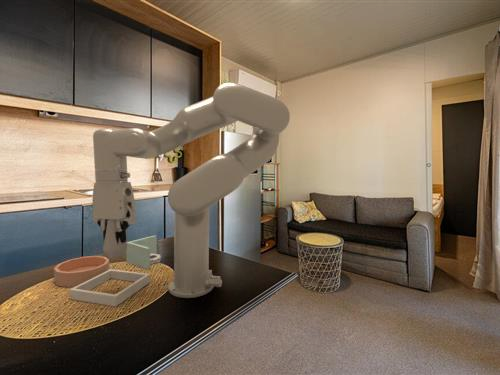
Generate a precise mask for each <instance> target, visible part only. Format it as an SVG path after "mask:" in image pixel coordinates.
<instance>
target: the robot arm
mask: <svg viewBox="0 0 500 375" xmlns="http://www.w3.org/2000/svg"><path fill="white" fill-rule="evenodd" d="M290 119H291V116H290V110H289V108H288V106H287V104H285V103H284V101H281V100H280V99H279V98H276V97H274V96H271V95H268V94H266V93H263V92H261V91H258V90H256V89H254V88H251V87H248V86H245V85H243V84H240V83H237V82H224V83H222V84H220V85H218V86H217V87H216V89H215V91H214V93H213V95H212V96H210V97H208V98H206V99H203V100H200V101H198V102H196V103H193V104H191V105H188V106H186V107H183V108H182V109H180V110H179V111H178V113H177V114H176V116H175V117H174V118H173V119H172V120H171V121H169V122H168V123H166V124H164V125H163V126H160V127H158V128H156V129H153V130H151V131H146V130H145V129H143V128H138V127H133V128H132V127H130V128H124V129H107V128H101V129H97V130H94V132H93V134H92V141H93V145H92V146H93V159H94V160H93V163H94V178H95V180H94V181H95V182H94V183H93V188H92V218H91V221H92V222H94V223H96V224H97V225H98V226H99V228H100V230H101V232H102V235H103V241H104V240H105V234H106V228H107V222H108V220H116V227H117V231H118V232H115V235H116V241H117V244H118V242H119V238H120V241H121V242H122V243H124V242H127V230H128V229H129V227H130V226H131V225H132V224H133V223H135V222H137V217H136V203H135V193H134V189H133V187H132V184H131V182H130V181H128V179H129V178H130V177H131V173H130V172H128V165H127V164H128V163H127V162H128V161H127V160H128V159H127V157H129V158H137V159H143V160H144V159H145V160H149V159H153V158H157V157H159V156H162V155H164V154H167V153H170V152H171V151H174V150H176V149H179V148H180V147H183V146H184V145H186V144H189V143H191V142H192V141H194V140H196V139H198V138H201V137H204V136H205V135H208V134H211V133H213V132H215V131H217V130H220V129H223V128H226V127H227V126H230V125H233V124H235V123H237V122H238V121H239V123H240V122H241V123H243V124H245V125H248V126H251V127H252V134H251V136H250V137H249V138H248V139H246V140H245V141H243V142H242V143H240V144H239V145H237V146H236V147H234V148H233V149H231V150H230V151H228V152H226V153H221V154H218V155H215V156H214V157H211V158H210V159H209V160H207V161H205V162H204V163H202V164H200V165H199V166H197V167H196V168H194V169H193V170H191V171H190V172H188V173H186V174H185V175H183V176H182V177H180V178H179V179H178V178H177V180H176V181H174V182H173V183H172V184H171V186H170V187H169V190H168V192H167V202H168V205H169V208H170V209H171V210H172V211H173V212H174V222H173V223H174V230H173V234H174V235H173V247H174V248H173V272H174V273H173V280H171V281H170V282H169V283H168V285H167V287H168V288H167V289H168V292H169V294H171V295H172V296H174V297H176V298H181V299H182V298H183V299H191V298H192V299H193V298H198V297H201V296H204V295H207V294H208V293H209V294H210V292H211V291H213V289H214V287H216V288H221V287H222V284H223V279H222V278H221V276H219V275H213V270H212V269H209V264H210V263H209V262H210V260H209V259H210V258H209V256H210V254H209V253H210V252H209V251H210V250H209V249H210V248H209V247H210V243H209V242H210V212H211V211H210V210H211V209H210V208H211V206H213V205H215V204H216V203H218V202H220V201H222V199H224V198H225V197H226V196H229V195H230V194H232V193H233V192H234V191H235V190H237V189H238V188H239V187H240V186H241V185H242V184H243V181H244V179H245V178H247V177H248V176H250V175H251V174H253V173H254V172H256V171H257V170H259V169H260V168H261V167H263V166H265V165H266V164H267V163H268V162H269V161H270V160H271V159H272V158H273V157H274V156H275V154H276V152H277V150H278V147H279V143H280V134H281V133H283V131H284V130H286V128H287V127H288V125H289V123H290ZM121 222H122V224H121Z"/></svg>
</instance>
